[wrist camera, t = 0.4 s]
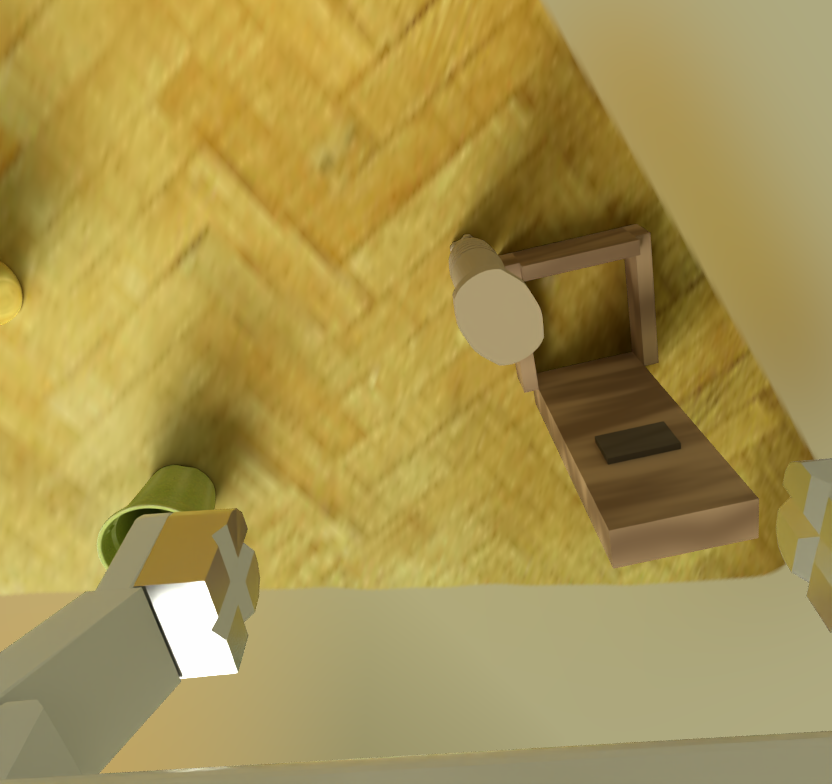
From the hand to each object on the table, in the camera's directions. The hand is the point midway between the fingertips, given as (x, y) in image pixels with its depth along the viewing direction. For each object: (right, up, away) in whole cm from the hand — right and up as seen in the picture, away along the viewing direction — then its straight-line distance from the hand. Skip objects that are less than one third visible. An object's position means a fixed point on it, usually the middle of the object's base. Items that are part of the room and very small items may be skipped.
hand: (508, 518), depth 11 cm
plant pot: (-23, -7, +54) cm, 59 cm away
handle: (+3, +13, +46) cm, 47 cm away
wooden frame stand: (+12, +8, +49) cm, 51 cm away
